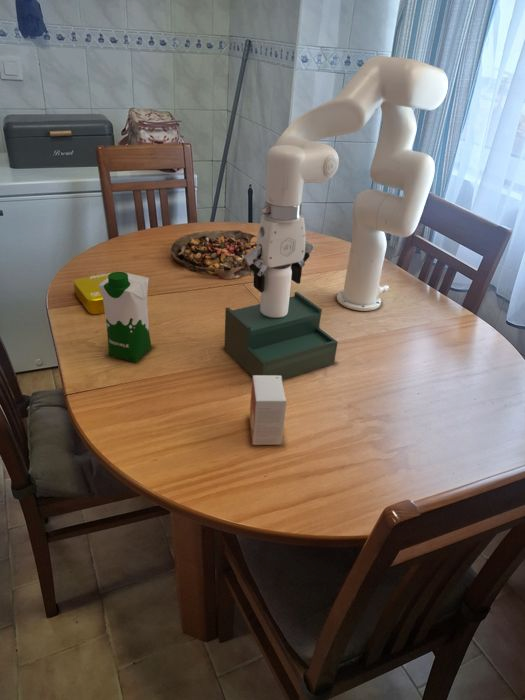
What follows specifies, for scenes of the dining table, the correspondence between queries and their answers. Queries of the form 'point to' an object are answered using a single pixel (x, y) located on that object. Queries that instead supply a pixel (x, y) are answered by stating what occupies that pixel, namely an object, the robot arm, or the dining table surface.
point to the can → (276, 291)
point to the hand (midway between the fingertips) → (277, 285)
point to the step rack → (279, 339)
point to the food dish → (215, 252)
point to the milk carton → (126, 315)
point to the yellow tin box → (91, 292)
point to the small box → (267, 409)
